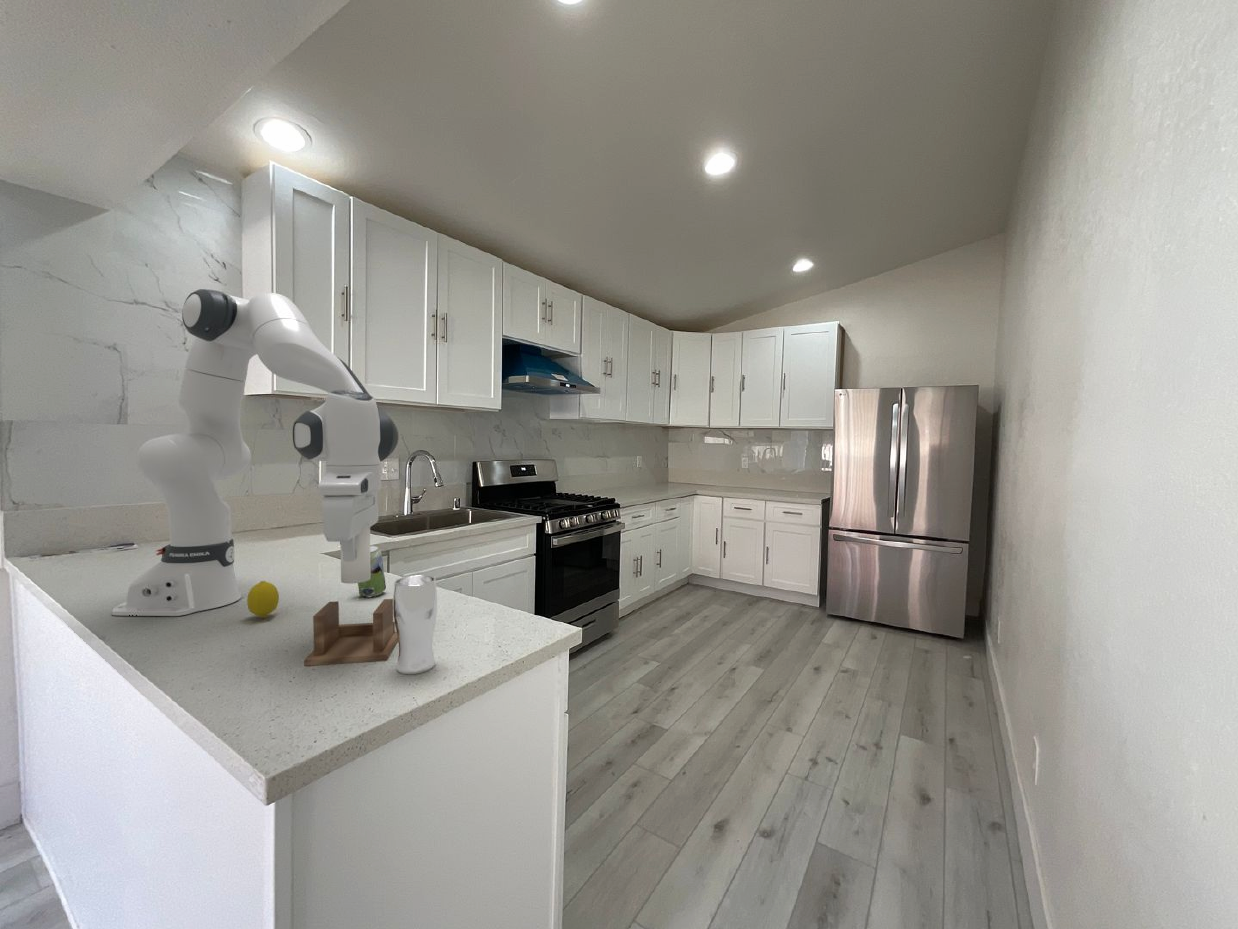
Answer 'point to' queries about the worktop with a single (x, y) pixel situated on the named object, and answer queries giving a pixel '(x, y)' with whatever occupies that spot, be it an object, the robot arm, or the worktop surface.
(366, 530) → the roll
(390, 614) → the holder
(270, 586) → the lemon
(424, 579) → the beer glass
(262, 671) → the worktop surface
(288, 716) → the worktop surface
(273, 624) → the worktop surface
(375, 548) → the beverage can
